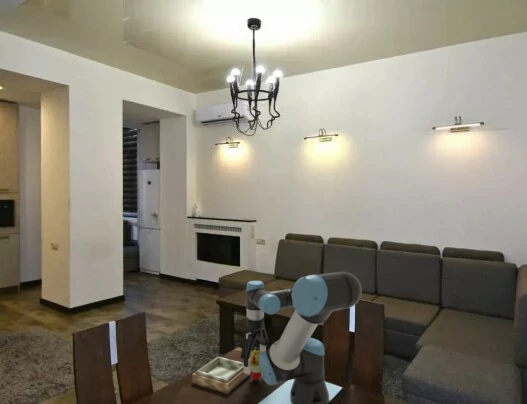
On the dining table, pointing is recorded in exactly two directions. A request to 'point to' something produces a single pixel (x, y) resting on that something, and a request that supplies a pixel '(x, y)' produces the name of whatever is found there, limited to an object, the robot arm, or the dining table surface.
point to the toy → (255, 365)
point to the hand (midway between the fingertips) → (255, 366)
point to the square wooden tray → (220, 375)
